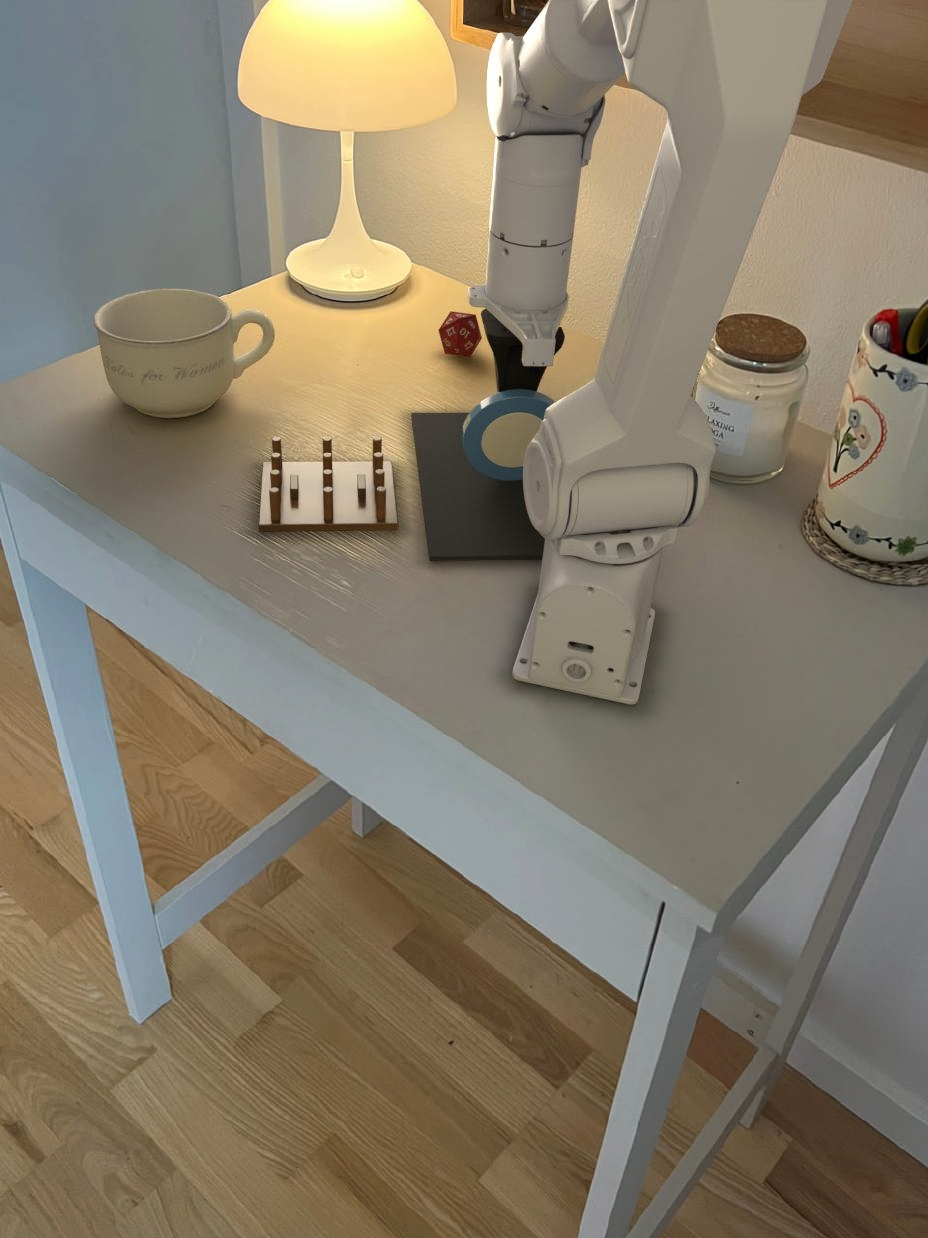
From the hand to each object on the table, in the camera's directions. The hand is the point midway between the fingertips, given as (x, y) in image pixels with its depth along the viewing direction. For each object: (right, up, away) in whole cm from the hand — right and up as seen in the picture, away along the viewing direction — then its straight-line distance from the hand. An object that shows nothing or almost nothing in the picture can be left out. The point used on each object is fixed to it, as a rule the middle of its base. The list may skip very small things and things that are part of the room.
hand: (514, 408), depth 85 cm
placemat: (0, -5, +3) cm, 6 cm away
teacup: (-27, +2, +10) cm, 28 cm away
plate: (0, -2, 0) cm, 2 cm away
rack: (-14, -7, 0) cm, 16 cm away
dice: (-4, +8, +19) cm, 21 cm away
